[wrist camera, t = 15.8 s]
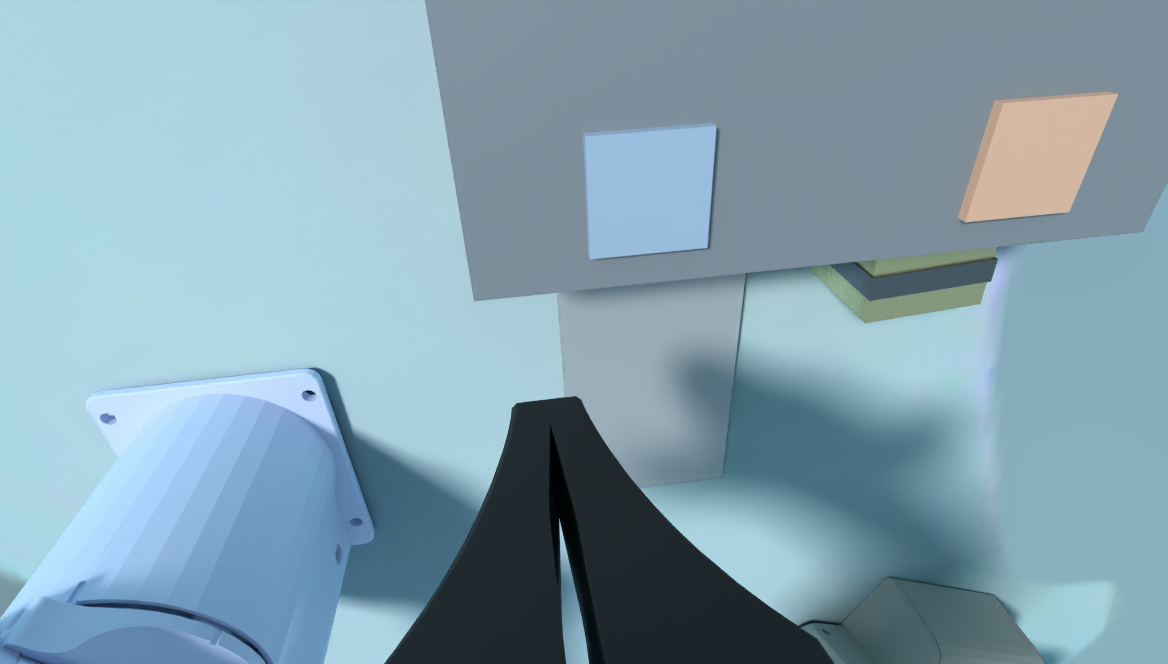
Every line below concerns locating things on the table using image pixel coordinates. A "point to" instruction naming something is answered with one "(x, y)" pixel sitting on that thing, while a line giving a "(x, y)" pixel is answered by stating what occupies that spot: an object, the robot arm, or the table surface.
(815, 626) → the digital clock
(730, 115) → the socket bank
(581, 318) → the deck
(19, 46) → the table surface
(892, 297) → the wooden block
